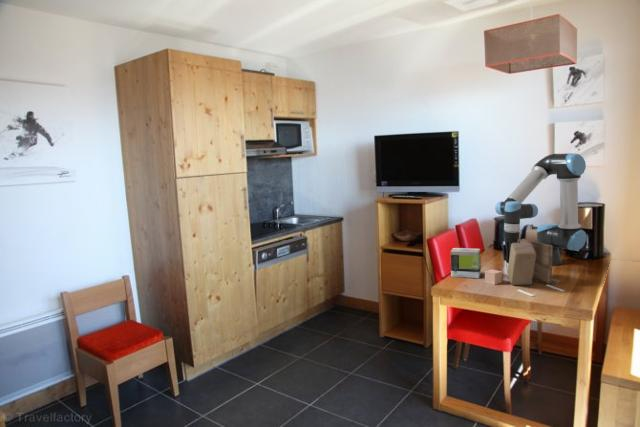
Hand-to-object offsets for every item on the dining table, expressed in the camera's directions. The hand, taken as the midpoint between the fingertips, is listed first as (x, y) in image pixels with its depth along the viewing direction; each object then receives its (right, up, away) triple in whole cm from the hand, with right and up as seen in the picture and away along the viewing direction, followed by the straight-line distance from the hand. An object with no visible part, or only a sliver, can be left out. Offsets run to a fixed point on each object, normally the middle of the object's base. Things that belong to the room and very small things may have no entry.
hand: (509, 274), depth 237 cm
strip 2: (+15, -4, -17) cm, 23 cm away
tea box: (-19, -2, +12) cm, 23 cm away
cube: (-9, -4, -2) cm, 10 cm away
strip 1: (-1, -6, -22) cm, 23 cm away
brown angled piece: (+16, -2, 0) cm, 16 cm away
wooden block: (+3, -2, -6) cm, 7 cm away
